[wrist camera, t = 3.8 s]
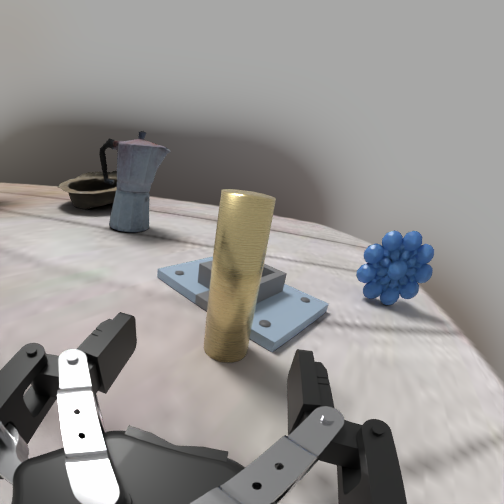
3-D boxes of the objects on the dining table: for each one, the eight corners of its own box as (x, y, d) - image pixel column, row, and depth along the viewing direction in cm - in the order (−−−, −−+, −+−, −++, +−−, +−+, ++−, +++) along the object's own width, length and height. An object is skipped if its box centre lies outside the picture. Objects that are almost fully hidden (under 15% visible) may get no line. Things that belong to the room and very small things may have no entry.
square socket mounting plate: (157, 277, 36) (158, 251, 35) (220, 261, 45) (223, 239, 44) (271, 352, 25) (280, 320, 24) (326, 311, 34) (333, 285, 33)
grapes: (412, 301, 41) (435, 234, 37) (419, 320, 35) (447, 243, 31) (350, 284, 45) (369, 214, 41) (349, 301, 38) (372, 220, 35)
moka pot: (159, 236, 52) (171, 131, 46) (86, 230, 48) (93, 128, 42) (164, 224, 61) (174, 134, 55) (100, 219, 57) (107, 131, 51)
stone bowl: (135, 197, 86) (138, 169, 83) (142, 221, 67) (146, 185, 63) (65, 195, 74) (66, 167, 71) (50, 220, 54) (50, 183, 51)
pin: (194, 345, 24) (210, 189, 20) (224, 331, 28) (246, 189, 23) (226, 368, 22) (252, 200, 18) (255, 350, 25) (285, 199, 21)
